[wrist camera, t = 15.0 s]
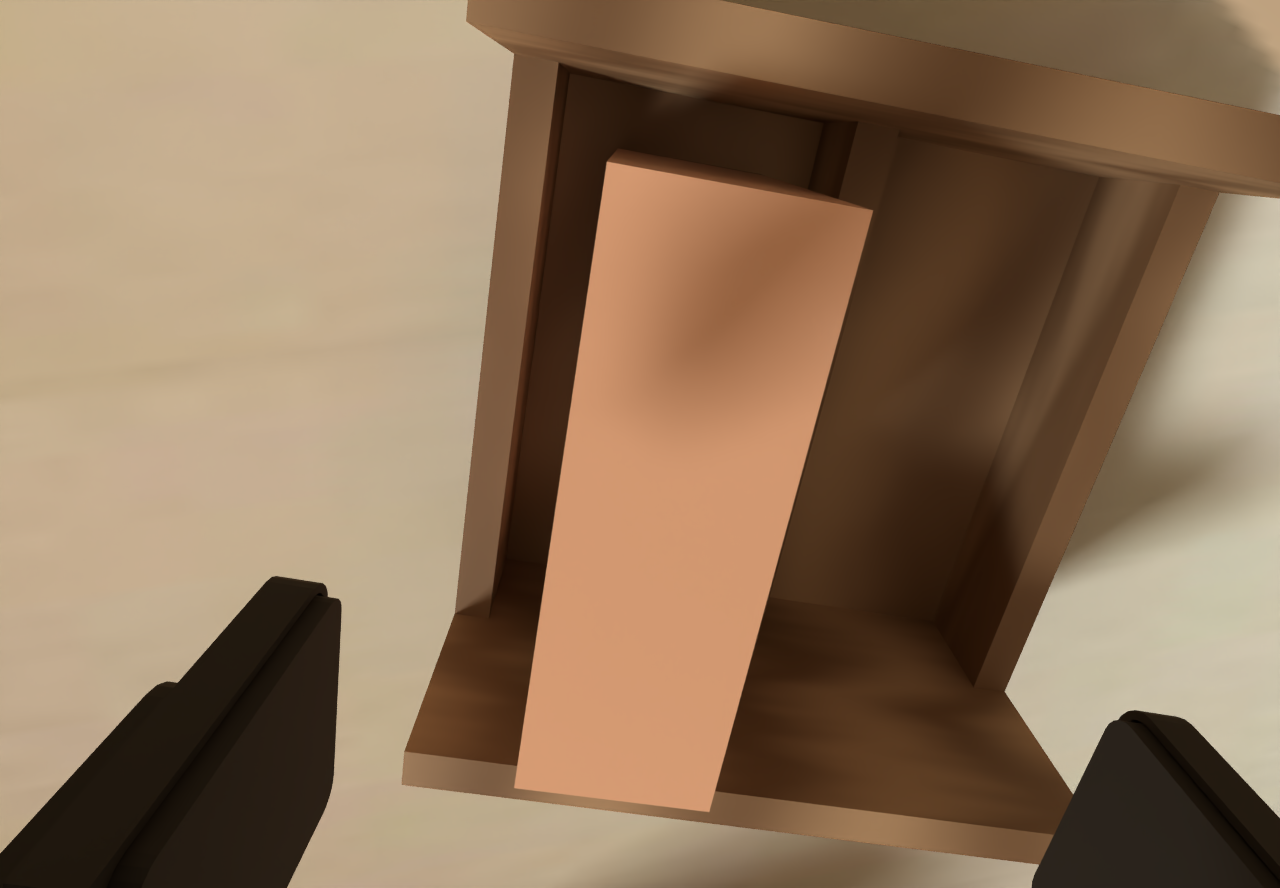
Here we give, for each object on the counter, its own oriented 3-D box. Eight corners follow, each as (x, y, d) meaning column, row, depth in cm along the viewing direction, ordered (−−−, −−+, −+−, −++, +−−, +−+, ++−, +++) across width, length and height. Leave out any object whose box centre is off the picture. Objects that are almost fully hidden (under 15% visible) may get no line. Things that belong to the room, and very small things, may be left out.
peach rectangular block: (759, 173, 22) (873, 210, 12) (678, 546, 26) (709, 811, 16) (618, 147, 22) (606, 162, 11) (560, 529, 26) (513, 788, 16)
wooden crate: (1125, 145, 23) (1471, 154, 13) (940, 632, 29) (1088, 870, 19) (541, 29, 21) (472, -51, 12) (479, 564, 27) (401, 784, 18)
